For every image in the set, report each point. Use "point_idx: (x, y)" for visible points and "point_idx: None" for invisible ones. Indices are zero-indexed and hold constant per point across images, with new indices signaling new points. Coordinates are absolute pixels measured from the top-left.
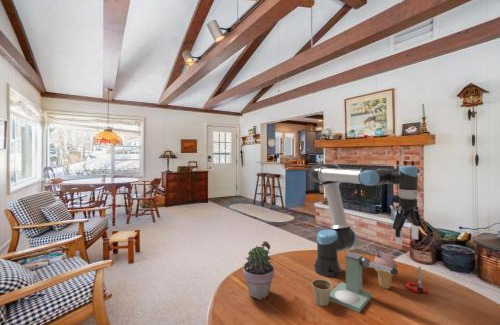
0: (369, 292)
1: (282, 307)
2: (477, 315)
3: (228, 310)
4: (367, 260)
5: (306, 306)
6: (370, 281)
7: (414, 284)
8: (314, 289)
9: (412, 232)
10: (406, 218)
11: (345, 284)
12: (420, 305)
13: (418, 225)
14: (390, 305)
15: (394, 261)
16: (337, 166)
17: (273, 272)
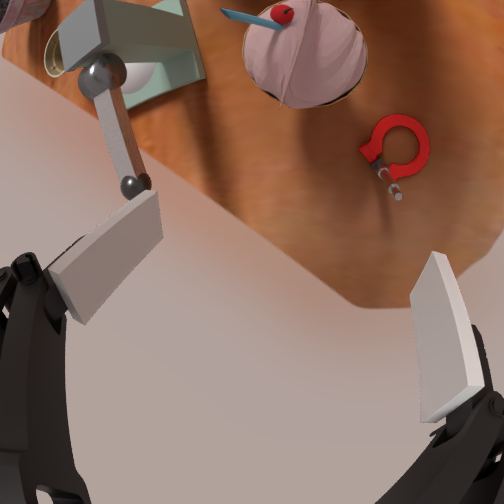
0: (197, 71)
1: (45, 46)
2: (353, 286)
3: (11, 39)
4: (89, 89)
5: None
6: None
7: (418, 138)
8: (52, 54)
9: (445, 303)
10: (67, 476)
11: (176, 7)
12: (291, 185)
13: (442, 431)
14: (215, 131)
15: (326, 93)
16: None
17: (7, 18)
